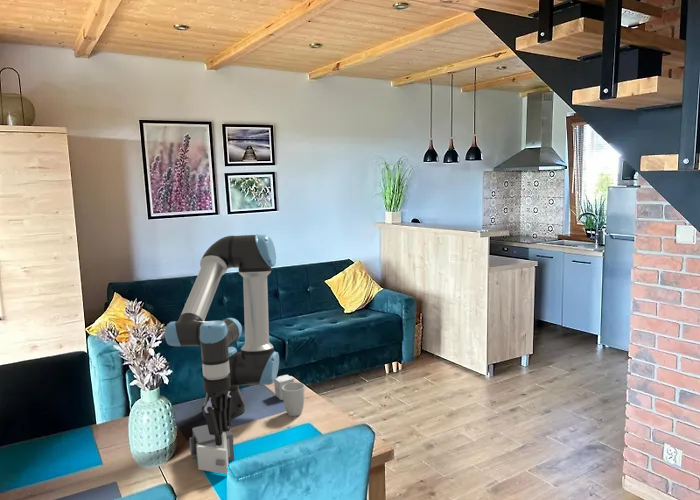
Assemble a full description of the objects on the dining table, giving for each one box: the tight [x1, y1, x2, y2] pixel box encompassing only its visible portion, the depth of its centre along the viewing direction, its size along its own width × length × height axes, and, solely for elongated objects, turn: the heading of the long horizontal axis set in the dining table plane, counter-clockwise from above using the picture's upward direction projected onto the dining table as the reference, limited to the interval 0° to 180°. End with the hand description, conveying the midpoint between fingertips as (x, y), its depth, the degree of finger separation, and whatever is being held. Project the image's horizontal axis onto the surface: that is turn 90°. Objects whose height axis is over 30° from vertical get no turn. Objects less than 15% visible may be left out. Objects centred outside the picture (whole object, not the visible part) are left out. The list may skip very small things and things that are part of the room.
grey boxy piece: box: [188, 424, 235, 462], centre depth 158 cm, size 11×12×9 cm
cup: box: [282, 381, 306, 417], centre depth 187 cm, size 8×8×10 cm
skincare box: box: [273, 374, 295, 401], centre depth 203 cm, size 6×6×7 cm
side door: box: [196, 444, 230, 475], centre depth 148 cm, size 2×11×7 cm, turn 71°
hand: (222, 453), depth 151 cm, fingers closed
